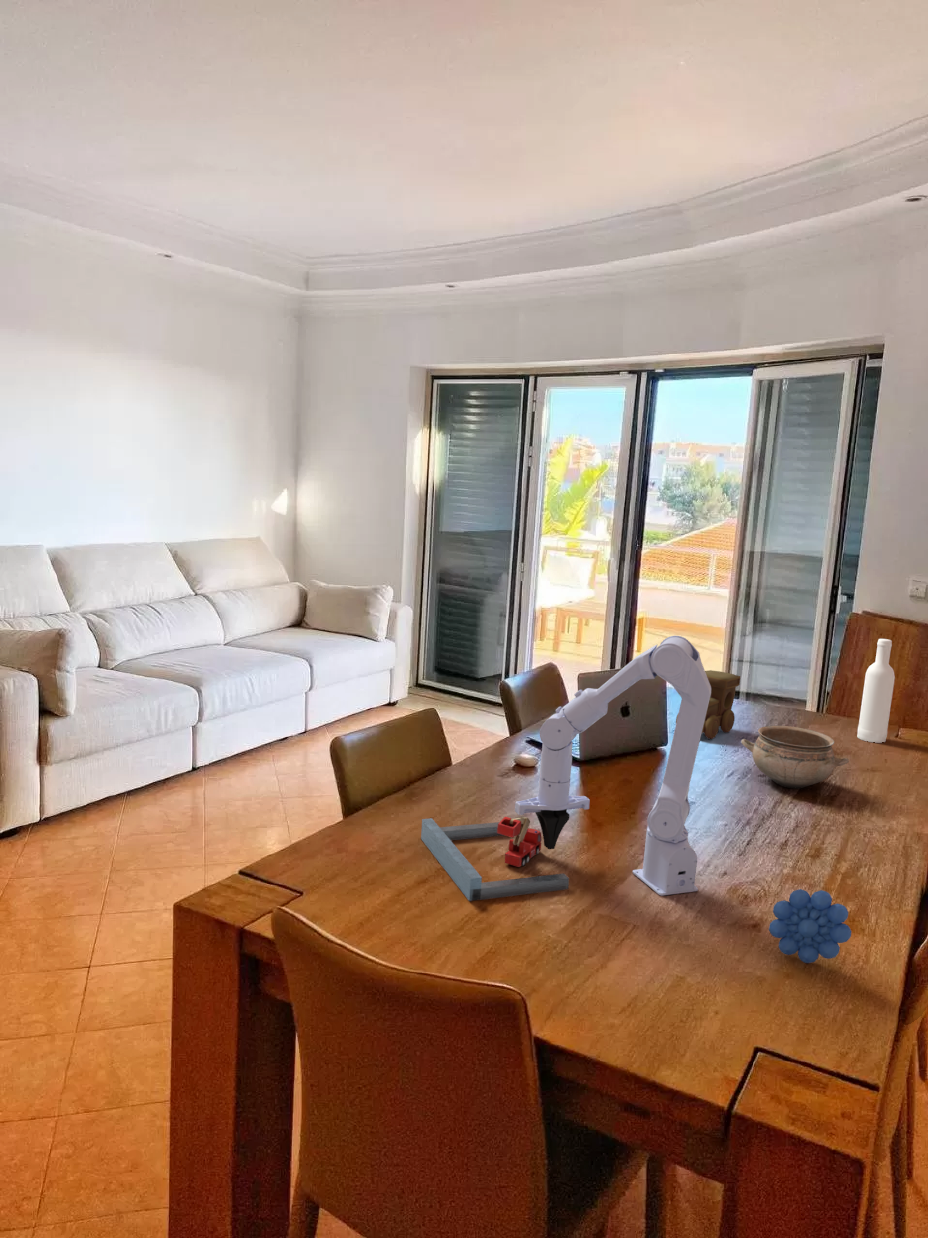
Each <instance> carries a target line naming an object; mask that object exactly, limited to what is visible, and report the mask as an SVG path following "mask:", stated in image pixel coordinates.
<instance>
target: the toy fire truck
mask: <svg viewBox="0 0 928 1238" xmlns="http://www.w3.org/2000/svg"><path fill="white" fill-rule="evenodd" d="M498 822H499V824H498V828H497V833H498V834H502V835H503V836H505V837H509V838H510V839H509V841H508V851H507V852H505V854H504V856H505V857H504V864H507V865H510V866H513V867H518V868H520V867H524V866H525V865H526V864H528V863H529V862H530V859H531V858H533V857H534V856H536V855H539V853H540V851H541V849H542V831H540V830H538V829H535V828H529V826H530V824H531V819H530V818H528V817H524V816H523V815H521V817H516V818H511V817H509V816H504V817H503V818H502V819H501V820H500V821H498Z"/></svg>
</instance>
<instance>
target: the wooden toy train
mask: <svg viewBox="0 0 928 1238" xmlns="http://www.w3.org/2000/svg"><path fill="white" fill-rule="evenodd" d="M705 673H706V675H707V678H708V681H709V683H710V686H711V695H710V700H709V704H708V708H707V712H706V717H705V721H704V725H703V729H702V734H704V736H705V737H706V739H708V740H713V739H714V738H716V736H717V735H718V732H719V729H720V730H721V732H723V733H725V734H726V733H729V732H730V731H732V729H733V727H734V724H735V718H736V717H735V713H734V711H733V710H732V707H733V705H734V700H735V696H736V695H735V694H736V690H737V689H736V688H738V686H740V685H741V683H740V682H741V675H738V674H735V673H729V672H724V671H719V670H712V669H710V670H705ZM677 718H678V714H677V715H676V718H675V723H676V722H677ZM702 734H701V735H702Z"/></svg>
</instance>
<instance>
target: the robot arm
mask: <svg viewBox="0 0 928 1238" xmlns="http://www.w3.org/2000/svg"><path fill="white" fill-rule="evenodd" d="M705 671H706V670H705V668H704V665H703V662H702V659H701V654H700V652H699V651H698V650H697V648H696V647H695V646H694V645H693V643H691V642H690V641H689V639H687V638H686V637H683V636H681V635H671V636H668V637H666V638H665V639H663V640H662V641H661V642H660V644H659V645H658V644H655V645H653V646H652V647H650V648H648V649H646V650H645V651H643V652H642V653H640V654H639V655H637V656H635V657H634V658H633V659H632V660H631V661H629V662H628V663H627V664H626V665H625V666H623V668H621V669H620V670H619V671H617V673H615V674H614V675H613V676H612V677H610V678H609V679H608V680H607V681H606V682H605V683H603V684H602V685H601V686H600V687H599V688H591V687H587V688H584V690H583V689H579V690H577V692H576V691H575V693H574V695H573V696H574V698H573V699H572V700H570V701H569V702H568V703H566V704H565V705H564V706H558V707H557V708H556V709H555V713H554V714H552V715H551V716H550V717H549V718H547V719H545V722H543V723H542V725H541V727H540V729H539V739H540V741H541V742H542V746H541V747H542V748H541V753H540V765H539V766H540V767H539V779H538V789H537V790H538V791H537V796H535V797H531V798H527V799H523V800H519V801H518V800H517V801H515V804H514V812H515V813H516V814H517V815H519V816H523V815H524V814H530V813H535V815H536V818H537V820H538V821H539V825H540V829H541V834H542V839H543V845H544V847H545V848H546V849H548V850H554V849H555V848H556V845H557V842H558V839H559V837H560V834H561V833H562V830H563V829H564V827H565V825H566V824H567V823H568V821H569V820H570V813H569V812H568V810H576V809H583V810H589V809H590V800H591V799H589V797H587V796H585V795H580V796H579V795H570V787H571V775H572V763H573V745H574V744H573V743H574V742H573V740H574V739H575V738H576V736H578V735H579V734H581V733H583V732H585V731H586V730H587V729H588V728H590V727H591V726H592V725H594V724H595V723H596V722H598V721H599V720H601V718H603V717H604V716H605V715H607V713H608V710H609V708H608V707H609V703H610V702H612V701H613V700H614V699H615V698H617V697H618V696H619V695H621V694H622V693H624V692H625V691H627V689H629V688H631V687H633V685H634V684H636V683H638V681H641V680H655V678H656V677H657V676H658V677H660V678H661V679H662V680H664V681H665V682H666V683H669V684H670V685H671V686H672V687H673V689H674V690H675V691H676V692H677V694H678V695H679V696H680V697H681V701H680V704H679V710H678V713H677V715H678V718H677V717H676V718H677V722H676V721H675V727H674V732H673V735H672V741H671V743H670V749H669V754H668V758H667V762H666V767H665V771H664V775H663V779H662V784H661V787H660V791H659V794H658V795H657V797H656V799H655V801H654V805H653V807H652V809H651V810H650V812H649V813H648V816H647V819H646V820H647V821H646V822H647V827H646V834H645V841H644V842H645V844H644V854H643V855H644V856H643V861H642V862H643V865H642V868H639V869H633V870H632V874H633V875H634V876H636V877H637V878H638V879H640V881H642V882H643V883H644V884H646V885H647V886H648V887H649V888H650V889H652V890H653V891H654V892H655V893H656V894H658V895H659V896H669V895H678V894H683V893H685V894H686V893H691V892H693V893H694V892H698V890H699V888H698V887H697V886H696V885H695V884H696V874H697V865H698V856H697V853H696V851H695V849H693V848H692V846H691V844H690V842H689V832H688V830H687V828H686V825H685V824H686V820H687V818H688V817H689V814H690V810H691V807H690V806H691V805H690V803H689V791H690V784H691V781H692V780H691V779H692V775H693V771H694V767H695V762H696V758H697V755H698V750H699V746H700V742H701V738H702V729H703V725H704V721H705V717H706V712H707V708H708V704H709V700H710V695H711V686H710V683H709V681H708V678H707V675H706V673H705Z"/></svg>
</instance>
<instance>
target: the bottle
mask: <svg viewBox="0 0 928 1238" xmlns="http://www.w3.org/2000/svg"><path fill="white" fill-rule="evenodd" d="M892 642H893V641H892V640H891V639H887V638H878V640H877V643H876V644H877V645H876V646H877V648H876V654H875V655H876V656H875V661H874V662H873V663H872V664H871V665H869V666H868V668H867V669H866V672H865V677H864V685H863V691H862V697H861V706H860V713H859V721H858V725H857V734H856V735H857V739H859V740H861V741H865V742H867V741H868V743H873V742H875V743H874V744H883V743H882V742H884V743H885V742H886V741H887V736H888V727H889V722H890V721H889V719H890V712H891V705H892V700H893V693H894V686H895V680H896V677H895V671H894V668H893V667H892V666H891V665H890V664H889V663H890V657H891V650H892V647H893V644H892Z"/></svg>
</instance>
